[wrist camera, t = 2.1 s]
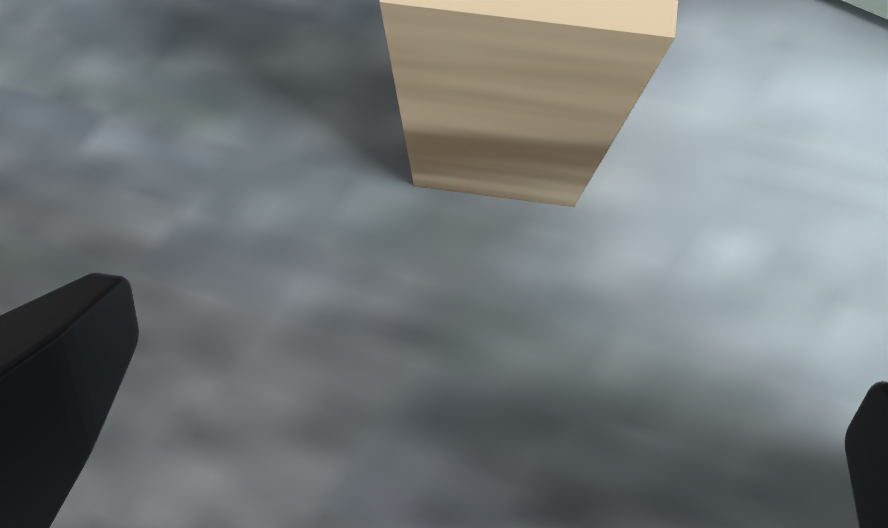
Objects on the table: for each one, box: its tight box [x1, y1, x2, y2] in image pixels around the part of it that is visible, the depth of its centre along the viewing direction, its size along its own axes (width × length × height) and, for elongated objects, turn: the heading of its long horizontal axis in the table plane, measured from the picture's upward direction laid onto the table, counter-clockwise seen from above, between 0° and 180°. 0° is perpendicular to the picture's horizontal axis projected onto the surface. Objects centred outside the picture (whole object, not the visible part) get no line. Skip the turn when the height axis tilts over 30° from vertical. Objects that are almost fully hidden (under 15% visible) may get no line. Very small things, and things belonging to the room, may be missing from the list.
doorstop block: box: [380, 0, 678, 207], centre depth 19 cm, size 4×5×11 cm
